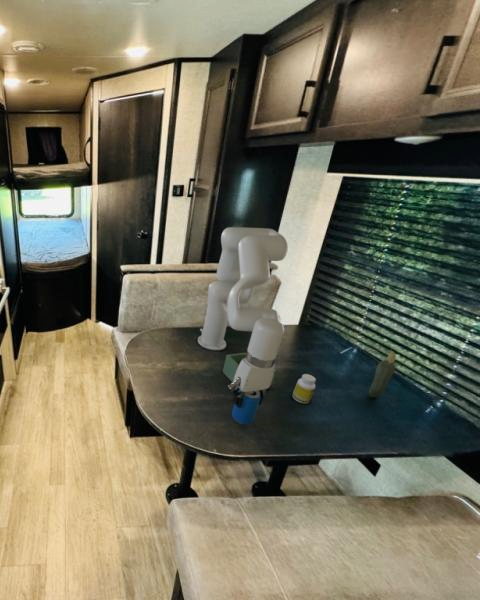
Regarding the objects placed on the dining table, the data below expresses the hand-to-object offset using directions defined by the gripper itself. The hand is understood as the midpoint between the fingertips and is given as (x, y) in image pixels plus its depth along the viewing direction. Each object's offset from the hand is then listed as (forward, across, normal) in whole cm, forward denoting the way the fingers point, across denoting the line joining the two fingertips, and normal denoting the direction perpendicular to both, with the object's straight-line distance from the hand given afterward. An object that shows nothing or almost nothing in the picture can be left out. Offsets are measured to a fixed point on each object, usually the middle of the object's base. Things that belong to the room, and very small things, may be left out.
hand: (246, 402), depth 101 cm
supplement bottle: (+9, -29, -6) cm, 31 cm away
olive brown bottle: (+10, -55, -2) cm, 56 cm away
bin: (+9, -16, -19) cm, 27 cm away
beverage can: (+7, 0, 0) cm, 7 cm away
